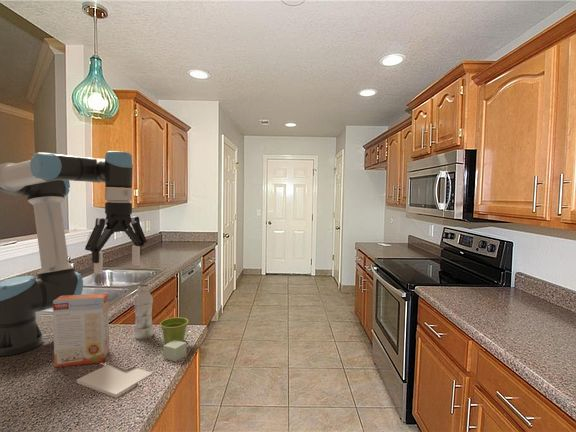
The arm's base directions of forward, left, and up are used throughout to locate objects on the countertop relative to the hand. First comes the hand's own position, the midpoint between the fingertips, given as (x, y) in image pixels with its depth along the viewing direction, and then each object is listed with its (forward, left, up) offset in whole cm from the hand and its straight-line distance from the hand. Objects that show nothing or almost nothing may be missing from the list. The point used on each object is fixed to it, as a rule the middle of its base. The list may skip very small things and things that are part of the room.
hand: (118, 269), depth 105 cm
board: (+9, -8, -29) cm, 32 cm away
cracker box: (-10, -5, -30) cm, 32 cm away
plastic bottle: (-6, +15, -30) cm, 34 cm away
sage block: (+15, +9, -30) cm, 34 cm away
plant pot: (+8, +16, -30) cm, 34 cm away
